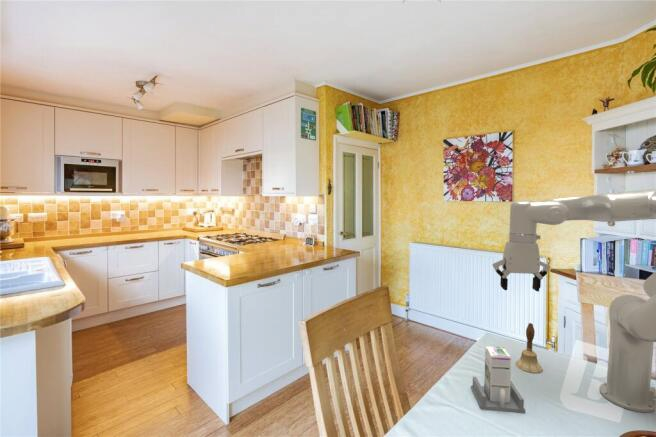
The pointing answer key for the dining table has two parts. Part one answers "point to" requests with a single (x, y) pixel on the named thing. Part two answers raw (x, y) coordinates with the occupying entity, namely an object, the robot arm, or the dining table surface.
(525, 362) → the hand bell
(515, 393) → the grey peg stand
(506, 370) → the syrup box
